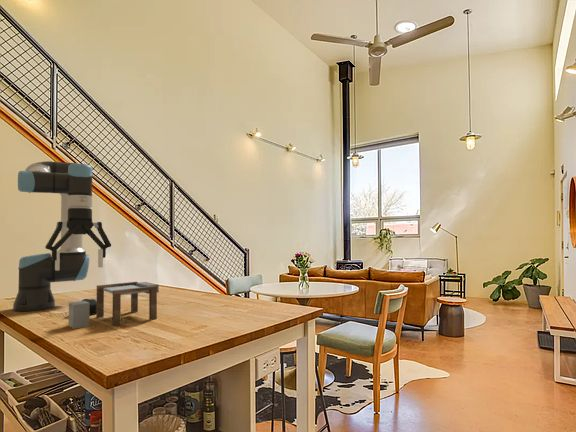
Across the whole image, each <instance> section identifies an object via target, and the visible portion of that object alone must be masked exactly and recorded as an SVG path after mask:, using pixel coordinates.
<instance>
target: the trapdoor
mask: <svg viewBox="0 0 576 432" xmlns="http://www.w3.org/2000/svg"><path fill="white" fill-rule="evenodd" d="M159 285H160V284H159V283H158V284H157V283H152V282H148V281H142V282H141V281H140V282H138V283H136V286H135V285H129V286H120V287H110V288H104V292H106V293H110V294H112V295H113V290H122V289H131V288H140V287H148V286H157V294H158V293H159V292H160V291H159V289H160V286H159ZM134 293H138V294H140V293H141V294H142V293H144V294H147V295H149V290H145V291H136V292H128V293H121V296H124V295H125V296H126V295H131V294H134Z"/></svg>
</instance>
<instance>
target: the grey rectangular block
mask: <svg viewBox="0 0 576 432" xmlns="http://www.w3.org/2000/svg"><path fill="white" fill-rule="evenodd" d="M89 306H90V303H89V302H86V301H82V300H79V301H72V302H71V301H70V302H68V327H70V328H71V329H80V328H85V327H86V326H87V327H90V314H89Z"/></svg>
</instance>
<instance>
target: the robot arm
mask: <svg viewBox="0 0 576 432" xmlns="http://www.w3.org/2000/svg"><path fill="white" fill-rule="evenodd" d="M93 175H94V174H93V167H92V166H91V165H90V164H86V163H79V162H78V163H77V162H64V161H49V160H48V161H39V162H35V163H31V164H29V165H28V166H27V167H26V168H25V169H24V170H20V171H18V173H17V190H18V191H19V192H20V193H21V192H23V193H29V194H31V193H35V194H36V193H37V194H38V193H41V194H42V193H43V194H44V193H45V194H59V195H60V196H61V197H60V199H61V201H60V206H61V207H60V221H57V222H56V228H55V229H54V231H53V233H52V234H51V237H50V238H49V240H48V241H47V243H46V245H45V246H44V248H45V250H49V251H51V253H50V252H47V253H39V254H33V255H32V254H31V255H26V256H22V257H20V259H19V262H18V269H17V270H18V287H17V288H18V291H17V294H16V296H15V300H14V302H13V305H12V311H14V312H31V311H42V310H46V309H50V308H53V307H55V306H56V300H55V298H54V297H55V296H54V295H53V292H52V290H51V284H52V283H61V282H76V281H82V280H85V279H86V278H87V276H88V273H89V267H90V255H89V254H87V252H86V250H85V249H84V248H83V235H87V236H89V237H90V238H91V240H93V242H94V243H95V244H96V245H97V246H98V247H99V248H100V249H99V248H98V250H97V253H98V254H97V258H98V260H97V263H98V264H97V266H98V268H104V259H105V258H106V256H107V255H106V254H107V253H106V252H107V251H106V250H107V249H108V248H111V246H112V243H111V242H110V240H109V237H108V236H107V234H106V231H104V228H103V223H102V221H96V222H93V209H92V207H93ZM93 227H94V228H95V229H96V231H97V232H98V234H99V236H100V237H101V240H100V239H99V237H98V235H96V234H95V232H94V231H93ZM59 235H60V239H59V240H58V241H57V242H56V243H55V241H56V240H57V238H58V236H59Z"/></svg>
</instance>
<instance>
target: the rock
mask: <svg viewBox="0 0 576 432" xmlns="http://www.w3.org/2000/svg"><path fill="white" fill-rule="evenodd" d="M81 301H86V302H89V303H90V306H89V315H92V314H91V313H95V314H96V304H97V299H94V298H93V299H92V298H84V299H82V300H81Z"/></svg>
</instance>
